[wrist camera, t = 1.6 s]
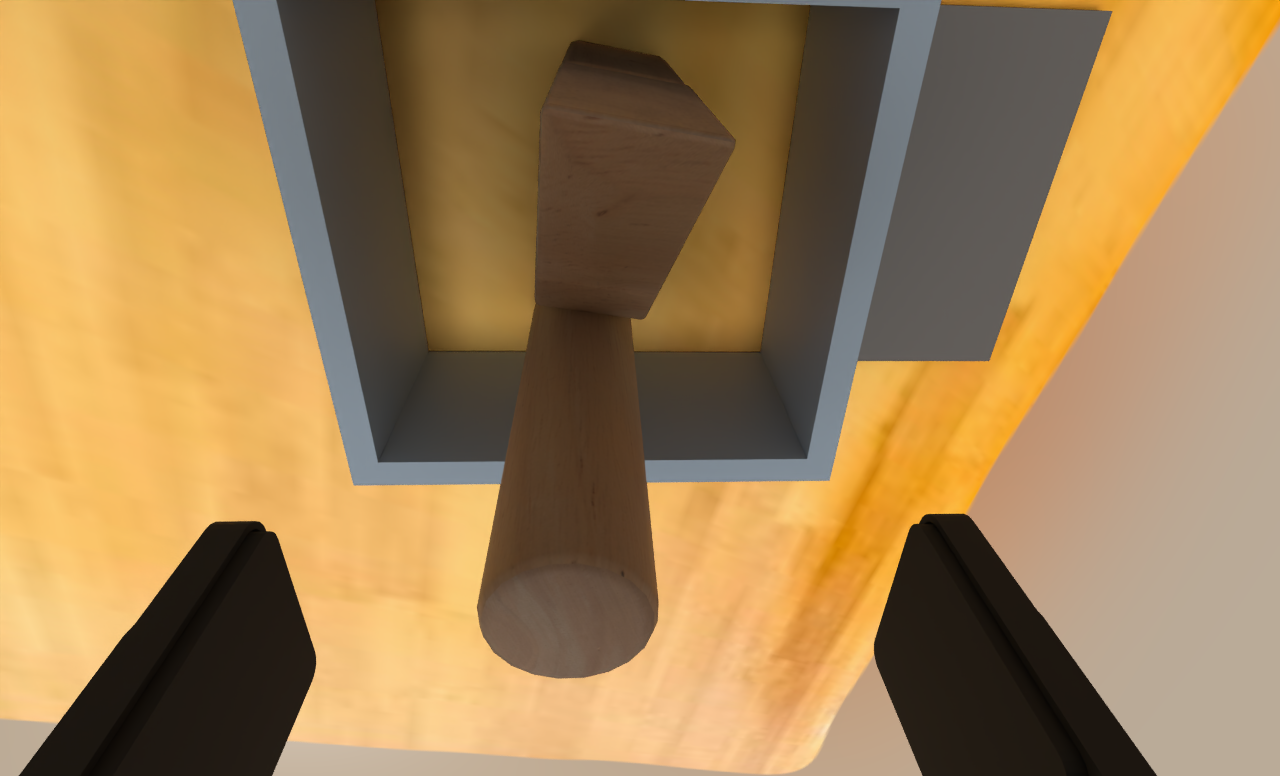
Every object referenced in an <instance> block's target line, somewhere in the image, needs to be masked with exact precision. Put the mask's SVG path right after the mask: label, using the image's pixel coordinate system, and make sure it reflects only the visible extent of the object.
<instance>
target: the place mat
mask: <svg viewBox="0 0 1280 776" xmlns="http://www.w3.org/2000/svg"><path fill="white" fill-rule="evenodd" d="M1111 14H1112V11H1099V10H1073V9H1045V8H1018V7H991V6H963V5H940V8H939V13H938V17H937V21H936V25H935V30H934V34H933V38H932V43H931V47H930V51H929V55H928V60H927V64H926V68H925V73H924V77H923V81H922V86H921V90H920V94H919V98H918V103H917V107H916V111H915V116H914V120H913V124H912V128H911V133H910V137H909V141H908V146H907V150H906V154H905V158H904V163H903V167H902V171H901V176H900V180H899V184H898V189H897V193H896V197H895V201H894V206H893V210H892V214H891V219H890V223H889V227H888V231H887V236H886V240H885V244H884V249H883V253H882V257H881V261H880V266H879V270H878V274H877V279H876V283H875V287H874V291H873V296H872V300H871V304H870V309H869V313H868V317H867V322H866V326H865V330H864V334H863V339H862V343H861V347H860V352H859V356H858V360H857V361H989V360H990V357H991V354H992V352H993V349H994V346H995V343H996V340H997V337H998V335H999V332H1000V329H1001V326H1002V323H1003V320H1004V317H1005V315H1006V312H1007V309H1008V306H1009V303H1010V300H1011V298H1012V295H1013V292H1014V289H1015V286H1016V283H1017V281H1018V278H1019V275H1020V272H1021V269H1022V266H1023V264H1024V261H1025V258H1026V255H1027V252H1028V249H1029V246H1030V244H1031V241H1032V238H1033V235H1034V232H1035V229H1036V227H1037V224H1038V221H1039V218H1040V215H1041V212H1042V210H1043V207H1044V204H1045V201H1046V198H1047V195H1048V193H1049V190H1050V187H1051V184H1052V181H1053V178H1054V176H1055V173H1056V170H1057V167H1058V164H1059V161H1060V158H1061V156H1062V153H1063V150H1064V147H1065V144H1066V141H1067V139H1068V136H1069V133H1070V130H1071V127H1072V124H1073V122H1074V119H1075V116H1076V113H1077V110H1078V107H1079V105H1080V102H1081V99H1082V96H1083V93H1084V90H1085V87H1086V85H1087V82H1088V79H1089V76H1090V73H1091V70H1092V68H1093V65H1094V62H1095V59H1096V56H1097V53H1098V51H1099V48H1100V45H1101V42H1102V39H1103V36H1104V34H1105V31H1106V28H1107V25H1108V22H1109V19H1110V16H1111Z"/></svg>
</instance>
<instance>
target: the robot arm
mask: <svg viewBox="0 0 1280 776" xmlns="http://www.w3.org/2000/svg"><path fill="white" fill-rule="evenodd" d="M874 655H875V660H876V664H877V667H878V669H879V671H880V674H881V676H882V679H883V681H884V684H885V686H886V689H887V691H888V693H889V696H890V698H891V700H892V703H893V705H894V708H895V710H896V713H897V715H898V717H899V720H900V722H901V724H902V727H903V730H904V732H905V734H906V737H907V739H908V742H909V744H910V746H911V749H912V751H913V754H914V756H915V759H916V761H917V763H918V766H919V768H920V771H921V773H922V775H923V776H1157V775H1156V774H1155V772H1154V771H1153V770H1152V768H1151V767H1150V765H1149V764H1148V763H1147V761H1146V760H1145V758H1144V757H1143V756H1142V754H1141V753H1140V751H1139V750H1138V749H1137V747H1136V746H1135V744H1134V743H1133V742H1132V740H1131V739H1130V737H1129V736H1128V735H1127V733H1126V732H1125V731H1124V729H1123V728H1122V726H1121V725H1120V723H1119V722H1118V721H1117V719H1116V718H1115V716H1114V715H1113V714H1112V712H1111V711H1110V710H1109V708H1108V707H1107V706H1106V704H1105V703H1104V701H1103V700H1102V698H1101V697H1100V695H1099V694H1098V693H1097V691H1096V690H1095V688H1094V687H1093V686H1092V684H1091V683H1090V682H1089V680H1088V679H1087V678H1086V676H1085V675H1084V673H1083V672H1082V670H1081V669H1080V668H1079V666H1078V665H1077V663H1076V662H1075V661H1074V659H1073V658H1072V656H1071V655H1070V654H1069V652H1068V651H1067V649H1066V648H1065V647H1064V645H1063V644H1062V642H1061V641H1060V640H1059V638H1058V637H1057V635H1056V634H1055V633H1054V631H1053V630H1052V628H1051V627H1050V626H1049V625H1048V623H1047V621H1046V620H1045V619H1044V617H1043V616H1042V615H1041V614H1040V613H1039V612H1038V611H1037V610H1036V608H1035V607H1034V606H1033V604H1032V603H1031V601H1030V600H1029V599H1028V597H1027V596H1026V594H1025V593H1024V591H1023V590H1022V589H1021V587H1020V586H1019V585H1018V583H1017V582H1016V580H1015V579H1014V577H1013V576H1012V575H1011V573H1010V572H1009V570H1008V569H1007V568H1006V566H1005V565H1004V563H1003V562H1002V561H1001V559H1000V558H999V556H998V555H997V554H996V552H995V551H994V549H993V548H992V547H991V545H990V544H989V542H988V541H987V540H986V538H985V537H984V536H983V534H982V533H981V531H980V530H979V529H978V527H977V526H976V524H975V523H974V521H973V520H972V519H971V518H970V517H969V516H967V515H965V514H927V515H925V516H924V517H922V519H921V521H920V523H919V524H913V525H912V526H911V528H910V530H909V532H908V536H907V539H906V542H905V545H904V548H903V552H902V555H901V558H900V561H899V564H898V568H897V571H896V574H895V577H894V580H893V584H892V587H891V590H890V593H889V596H888V600H887V603H886V606H885V609H884V612H883V616H882V619H881V622H880V625H879V628H878V632H877V635H876V638H875V642H874ZM315 668H316V654H315V650H314V647H313V644H312V641H311V638H310V635H309V632H308V629H307V626H306V623H305V620H304V617H303V614H302V611H301V608H300V605H299V601H298V598H297V595H296V592H295V589H294V586H293V583H292V580H291V577H290V574H289V571H288V568H287V565H286V562H285V559H284V556H283V553H282V550H281V546H280V543H279V540H278V538H277V536H276V534H275V533H274V532H270V531H266V529H265V527H264V525H263V524H261V523H260V522H256V521H238V522H214V523H212V524H210V525H209V526H208V527H207V528H206V529H205V531H204V532H203V533H202V535H201V536H200V537H199V539H198V540H197V541H196V543H195V544H194V546H193V547H192V548H191V550H190V551H189V552H188V554H187V555H186V556H185V558H184V559H183V560H182V562H181V563H180V564H179V566H178V567H177V568H176V570H175V571H174V572H173V574H172V575H171V576H170V578H169V579H168V580H167V582H166V583H165V584H164V586H163V587H162V588H161V590H160V591H159V592H158V594H157V595H156V596H155V598H154V599H153V601H152V602H151V603H150V605H149V606H148V607H147V609H146V610H145V611H144V613H143V614H142V615H141V617H140V618H139V619H138V621H137V622H136V623H135V625H133V627H132V628H131V629H130V630H129V631H128V632H127V633H126V634H125V635H124V636H123V637H122V639H121V640H120V641H119V643H118V644H117V645H116V647H115V648H114V650H113V651H112V652H111V654H110V655H109V656H108V658H107V659H106V660H105V662H104V663H103V664H102V666H101V667H100V668H99V670H98V671H97V672H96V674H95V675H94V676H93V678H92V679H91V680H90V682H89V683H88V684H87V686H86V687H85V688H84V690H83V691H82V692H81V694H80V695H79V696H78V698H77V699H76V700H75V702H74V703H73V704H72V706H71V707H70V708H69V710H68V711H67V712H66V714H65V715H64V716H63V718H62V719H61V720H60V722H59V723H58V724H57V726H56V727H55V728H54V730H53V731H52V732H51V734H50V735H49V736H48V738H47V739H46V740H45V742H44V743H43V744H42V746H41V747H40V748H39V750H38V751H37V752H36V754H35V755H34V756H33V758H32V759H31V760H30V762H29V763H28V764H27V766H26V767H25V768H24V770H23V771H22V772H21V774H20V775H19V776H272V775H273V772H274V770H275V767H276V765H277V762H278V760H279V758H280V756H281V753H282V751H283V749H284V746H285V744H286V741H287V739H288V737H289V734H290V732H291V730H292V727H293V725H294V723H295V720H296V718H297V715H298V713H299V711H300V708H301V706H302V704H303V701H304V699H305V697H306V694H307V692H308V690H309V687H310V685H311V682H312V680H313V677H314V673H315Z"/></svg>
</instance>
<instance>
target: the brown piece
mask: <svg viewBox="0 0 1280 776" xmlns="http://www.w3.org/2000/svg"><path fill="white" fill-rule="evenodd" d="M734 147H735V139H734V138H733V137H732V135H731V134H730V133H729V132H728V131H727V130H726V128H725V127H724V126H723V125H722V124H721V123H720V121H719V120H718V119H717V118H716V117H715V116H714V114H713V113H712V112H711V111H710V110H709V109H708V107H707V106H706V105H705V104H704V103H703V102H702V100H701V99H700V98H699V97H698V96H697V95H696V93H695V92H694V91H693V90H692V89H691V88H690V87H689V86H687V85H685V84H684V83H683V81H682V80H681V79H680V78H679V77H678V75H677V74H676V73H675V72H674V71H673V69H672V68H671V67H670V66H669V65H668V63H667V62H666V61H665V60H663V59H662V58H661V57H659V56H654V55H649V54H644V53H639V52H634V51H629V50H624V49H619V48H614V47H609V46H604V45H598V44H593V43H588V42H583V41H575V42H571V44H570V46H569V48H568V50H567V52H566V54H565V57H564V59H563V61H562V64H561V65H560V67H559V69H558V71H557V74H556V76H555V78H554V81H553V83H552V86H551V88H550V90H549V93H548V95H547V97H546V100H545V102H544V104H543V107H542V109H541V112H540V140H539V172H538V204H537V236H536V268H535V302H536V305H535V308H534V312H533V318H532V323H531V328H530V333H529V339H528V344H527V349H526V354H525V359H524V365H523V370H522V375H521V380H520V385H519V391H518V396H517V401H516V406H515V412H514V417H513V422H512V427H511V432H510V438H509V443H508V448H507V453H506V459H505V464H504V469H503V474H502V479H501V485H500V490H499V495H498V500H497V505H496V511H495V516H494V521H493V526H492V532H491V537H490V542H489V547H488V552H487V558H486V563H485V568H484V573H483V578H482V584H481V589H480V594H479V599H478V605H477V611H478V617H479V624H480V628H481V631H482V634H483V637H484V638H485V640H486V641H487V643H488V644H489V646H490V647H491V649H492V650H493V652H494V653H495V654H497V655H498V656H499V657H501V658H502V659H503V660H505V661H506V662H507V663H509V664H510V665H511V666H514V667H516V668H519V669H521V670H524V671H526V672H529V673H531V674H534V675H540V676H546V677H552V678H584V677H589V676H593V675H597V674H601V673H605V672H609V671H611V670H613V669H615V668H617V667H619V666H621V665H623V664H625V663H627V662H629V661H630V660H631V659H632V658H633V657H635V656H636V655H637V654H638V653H639V652H640V651H641V650H642V649H644V648H645V646H646V644H647V642H648V640H649V638H650V636H651V634H652V633H653V631H654V628H655V626H656V623H657V621H658V592H657V582H656V572H655V561H654V551H653V541H652V531H651V521H650V511H649V500H648V490H647V480H646V470H645V460H644V449H643V439H642V429H641V419H640V409H639V399H638V388H637V378H636V368H635V358H634V348H633V337H632V327H631V318H634V319H644V318H645V317H646V315H647V314H648V312H649V310H650V308H651V306H652V304H653V302H654V300H655V298H656V296H657V295H658V293H659V291H660V289H661V287H662V285H663V283H664V281H665V279H666V277H667V275H668V274H669V272H670V270H671V268H672V266H673V264H674V262H675V260H676V258H677V256H678V255H679V253H680V251H681V249H682V247H683V245H684V243H685V241H686V239H687V237H688V235H689V234H690V232H691V230H692V228H693V226H694V224H695V222H696V220H697V218H698V216H699V214H700V213H701V211H702V209H703V207H704V205H705V203H706V201H707V199H708V197H709V195H710V194H711V192H712V190H713V188H714V186H715V184H716V182H717V180H718V178H719V176H720V174H721V173H722V171H723V169H724V167H725V165H726V163H727V161H728V159H729V157H730V155H731V153H732V152H733V150H734Z"/></svg>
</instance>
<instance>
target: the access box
mask: <svg viewBox="0 0 1280 776" xmlns="http://www.w3.org/2000/svg"><path fill="white" fill-rule="evenodd" d="M687 1H714V2H742V3H770V4H797V5H810V12H809V19H808V26H807V33H806V39H805V46H804V53H803V60H802V67H801V74H800V81H799V88H798V95H797V102H796V109H795V116H794V123H793V130H792V136H791V143H790V150H789V157H788V164H787V171H786V178H785V185H784V192H783V199H782V206H781V213H780V220H779V227H778V233H777V240H776V247H775V254H774V261H773V268H772V275H771V282H770V289H769V296H768V303H767V310H766V317H765V323H764V330H763V337H762V344H761V351H760V352H634V358H635V368H636V378H637V388H638V399H639V409H640V419H641V429H642V439H643V449H644V460H645V470H646V480H647V482H738V481H829V480H830V476H831V472H832V467H833V463H834V459H835V455H836V450H837V446H838V442H839V437H840V433H841V429H842V424H843V420H844V416H845V412H846V407H847V403H848V399H849V394H850V390H851V386H852V382H853V377H854V373H855V369H856V364H857V360H858V356H859V352H860V347H861V343H862V339H863V334H864V330H865V326H866V322H867V317H868V313H869V309H870V304H871V300H872V296H873V291H874V287H875V283H876V279H877V274H878V270H879V266H880V261H881V257H882V253H883V249H884V244H885V240H886V236H887V231H888V227H889V223H890V219H891V214H892V210H893V206H894V201H895V197H896V193H897V189H898V184H899V180H900V176H901V171H902V167H903V163H904V158H905V154H906V150H907V146H908V141H909V137H910V133H911V128H912V124H913V120H914V116H915V111H916V107H917V103H918V98H919V94H920V90H921V86H922V81H923V77H924V73H925V68H926V64H927V60H928V55H929V51H930V47H931V43H932V38H933V34H934V30H935V25H936V21H937V17H938V13H939V8H940V4H941V0H687ZM233 4H234V8H235V12H236V16H237V20H238V24H239V28H240V32H241V36H242V40H243V44H244V48H245V52H246V56H247V60H248V64H249V68H250V72H251V76H252V80H253V84H254V88H255V92H256V96H257V100H258V104H259V108H260V112H261V116H262V120H263V124H264V128H265V132H266V136H267V140H268V144H269V148H270V152H271V156H272V160H273V164H274V168H275V172H276V176H277V180H278V184H279V188H280V192H281V196H282V200H283V204H284V208H285V212H286V216H287V220H288V224H289V228H290V232H291V236H292V240H293V244H294V248H295V252H296V256H297V260H298V264H299V268H300V272H301V276H302V280H303V284H304V288H305V292H306V296H307V300H308V304H309V308H310V312H311V316H312V320H313V324H314V328H315V332H316V336H317V340H318V344H319V348H320V352H321V356H322V360H323V364H324V368H325V372H326V376H327V380H328V384H329V388H330V392H331V396H332V400H333V404H334V408H335V412H336V416H337V420H338V424H339V428H340V432H341V436H342V440H343V444H344V448H345V452H346V456H347V460H348V464H349V468H350V472H351V476H352V480H353V484H354V485H444V484H501V479H502V474H503V469H504V464H505V459H506V453H507V448H508V443H509V438H510V432H511V427H512V422H513V417H514V412H515V406H516V401H517V396H518V391H519V385H520V380H521V375H522V370H523V365H524V359H525V354H526V352H452V351H428V345H427V338H426V332H425V325H424V319H423V312H422V306H421V299H420V292H419V286H418V279H417V273H416V266H415V260H414V253H413V247H412V240H411V234H410V227H409V221H408V214H407V207H406V201H405V194H404V188H403V181H402V175H401V168H400V162H399V155H398V149H397V142H396V135H395V129H394V122H393V116H392V109H391V103H390V96H389V90H388V83H387V77H386V70H385V64H384V57H383V50H382V44H381V37H380V31H379V24H378V18H377V11H376V5H375V0H233Z"/></svg>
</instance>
